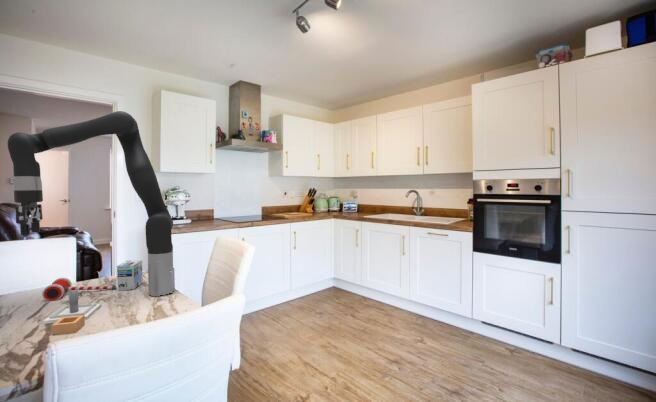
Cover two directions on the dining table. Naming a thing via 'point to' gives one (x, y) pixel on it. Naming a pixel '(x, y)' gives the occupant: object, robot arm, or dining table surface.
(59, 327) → the ring
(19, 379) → the dining table surface
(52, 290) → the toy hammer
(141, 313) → the dining table surface
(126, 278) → the light bulb box
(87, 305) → the post base
